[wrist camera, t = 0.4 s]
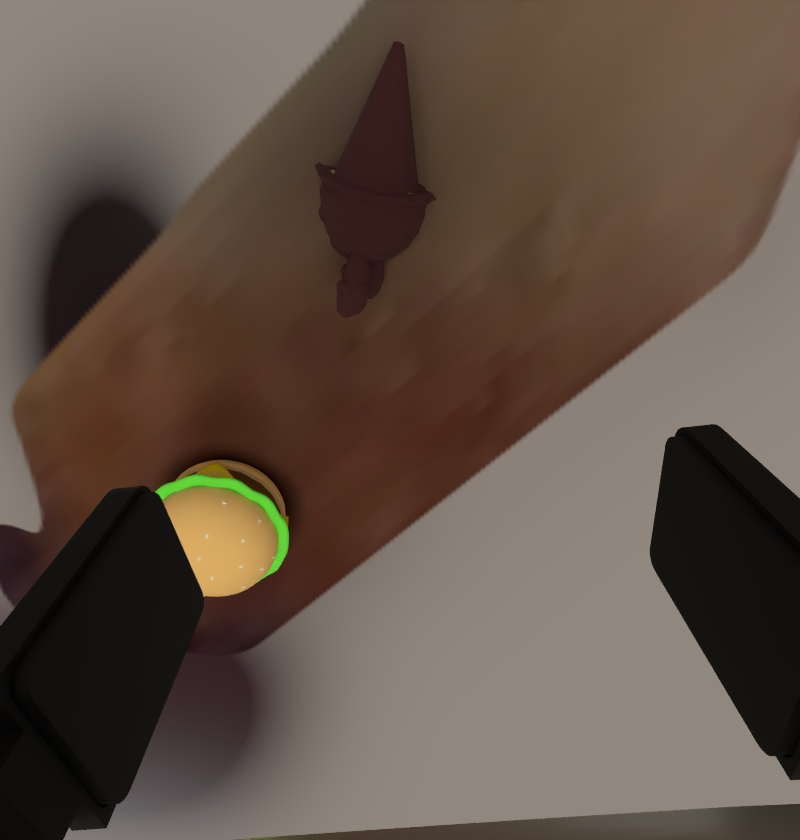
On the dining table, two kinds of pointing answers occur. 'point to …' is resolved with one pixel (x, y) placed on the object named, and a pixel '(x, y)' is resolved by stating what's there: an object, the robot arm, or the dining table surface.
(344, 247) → the icecream
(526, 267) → the dining table surface
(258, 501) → the hamburger
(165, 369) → the dining table surface
